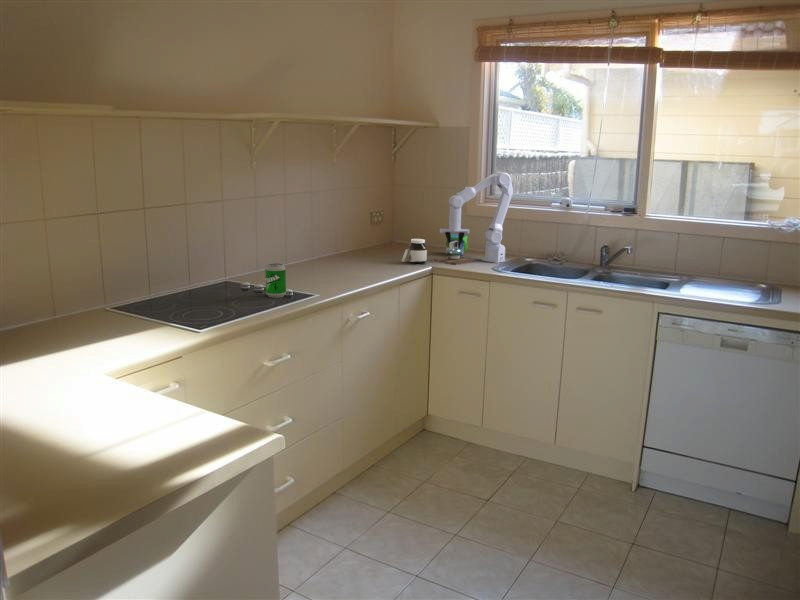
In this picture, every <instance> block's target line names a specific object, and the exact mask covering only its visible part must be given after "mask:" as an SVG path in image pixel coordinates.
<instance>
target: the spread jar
mask: <svg viewBox="0 0 800 600" xmlns="http://www.w3.org/2000/svg"><path fill="white" fill-rule="evenodd" d="M407 255H408V256H407ZM407 257H408V258H407ZM427 257H428V248H427V245H426V239H423V238H411V239H410V244H409V245H408V248H406V249H405V250H404V253H403V256H402V258H401V263H403V262H404V263H405V261H406V258H407V259H408V262H409V263H410V264H411V265H416V264H420V265H424V264H426V263H427V261H428V260H427V259H428V258H427Z"/></svg>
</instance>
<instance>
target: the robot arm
mask: <svg viewBox="0 0 800 600" xmlns="http://www.w3.org/2000/svg"><path fill="white" fill-rule="evenodd" d="M489 186H498V188H499V189H500V190H499V191H501V194H500V198H499V200H498V203H497V206H496V208H495V209H496V210H495V212H494V216H493V220H492V221H491V224H490V225H489V226H488V229H487V230H486V231H485V233H484V236H485V240H486V241H485V256H484V258H483V259H481V261H483V262H489V263H495V264H499V263H503V262H506V247H505V245H504V244H501V241H502V239H503V231H504V229H503V224H504V223H505V222H504V221H505V219H506V215H507V212H508V209H509V206H510V202H511V200H512V198H513V194H514V188H513V179H512V178H511V176H510V174H509V173H508V172H502V171H495V172H494V173H492V174H490V175H488V176H487V177H486V178H484V179H482V180H481V181H480V182H478V183H477V184H475V185H474V186H465V187H464V189H463V190H461V191H460V192H456V194H455V195H452V196H451V197H449V199H448V205H449V218H448V219H449V221H448V222H449V223H448V228H439V233H440V234H444V235H445V236H446V241H447V240H448V245H449V243H450V240H451V235H452V234H457V235H458V248H460V244H461V241H462V239H463V237H464V235H465V234H470V231H471V230H470V229H469V228H461V227H462V207H463V205H464V204H466V203H467V202H469V201H470V200H472V199H473V198H475V197H476V195H477V193H479V192H481V191H483V189H485V188H487V187H489Z"/></svg>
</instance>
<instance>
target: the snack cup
mask: <svg viewBox="0 0 800 600" xmlns="http://www.w3.org/2000/svg"><path fill="white" fill-rule="evenodd" d="M468 239H469V238H468V236H467V235H465V234H464V237H463V239H462V241H461V244H460V248H461V249H462V254H461V255H462V256H464V254H465V252H467V251H468V250H469V244H468ZM453 241H458V234H451V240H450V242H453ZM445 246H446V248H449V245H448V240H447V239H446V242H445ZM461 255H460V257H461Z"/></svg>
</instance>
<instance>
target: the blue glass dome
mask: <svg viewBox="0 0 800 600" xmlns="http://www.w3.org/2000/svg"><path fill="white" fill-rule="evenodd" d="M445 254H446V255H447V256H448V255H461V254H462V249H461V248H458V241H453V242H450V243H449V247H446V248H445Z"/></svg>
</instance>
